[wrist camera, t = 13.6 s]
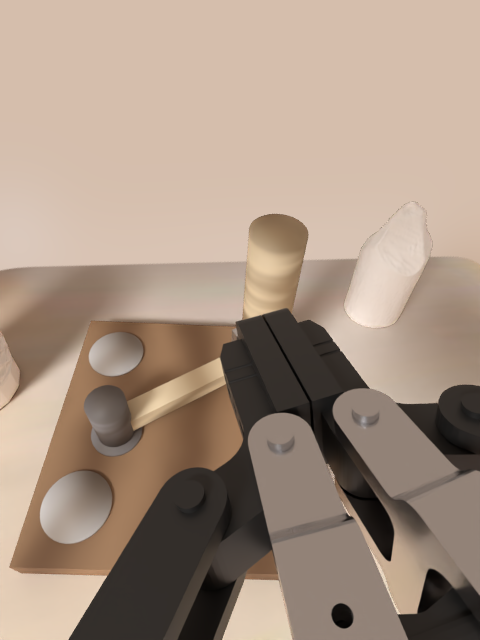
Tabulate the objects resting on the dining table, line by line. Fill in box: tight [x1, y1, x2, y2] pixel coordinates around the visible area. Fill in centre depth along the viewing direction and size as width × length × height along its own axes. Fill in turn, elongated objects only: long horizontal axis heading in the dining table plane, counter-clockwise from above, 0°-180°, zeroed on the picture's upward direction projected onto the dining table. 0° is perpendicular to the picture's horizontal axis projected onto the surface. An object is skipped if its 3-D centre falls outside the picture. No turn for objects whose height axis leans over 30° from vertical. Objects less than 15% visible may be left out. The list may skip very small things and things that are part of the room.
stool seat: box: [10, 321, 279, 580], centre depth 31 cm, size 19×19×2 cm
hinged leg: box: [84, 214, 308, 447], centre depth 27 cm, size 16×4×13 cm, turn 122°
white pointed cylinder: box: [344, 202, 433, 328], centre depth 37 cm, size 6×12×6 cm
